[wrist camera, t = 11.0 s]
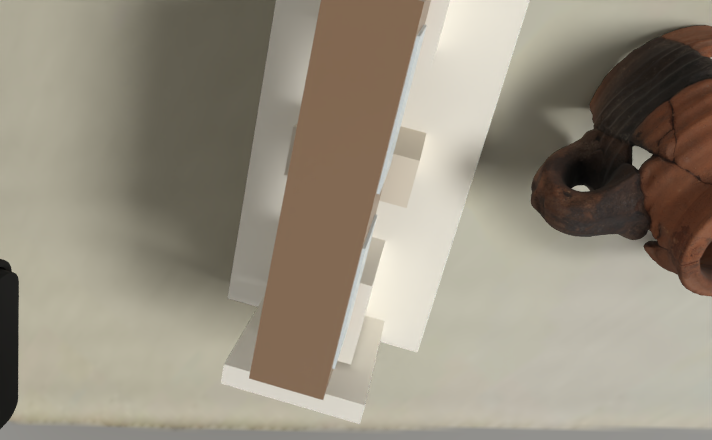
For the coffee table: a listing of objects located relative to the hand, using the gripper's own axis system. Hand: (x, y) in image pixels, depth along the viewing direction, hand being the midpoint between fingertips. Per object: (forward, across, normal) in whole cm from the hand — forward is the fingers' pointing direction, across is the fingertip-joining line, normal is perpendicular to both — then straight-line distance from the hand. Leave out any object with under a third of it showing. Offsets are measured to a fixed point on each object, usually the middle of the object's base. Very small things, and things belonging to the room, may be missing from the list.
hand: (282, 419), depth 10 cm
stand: (+21, +1, +2) cm, 21 cm away
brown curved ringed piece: (+22, -11, -1) cm, 24 cm away
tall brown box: (+15, +1, +2) cm, 15 cm away
